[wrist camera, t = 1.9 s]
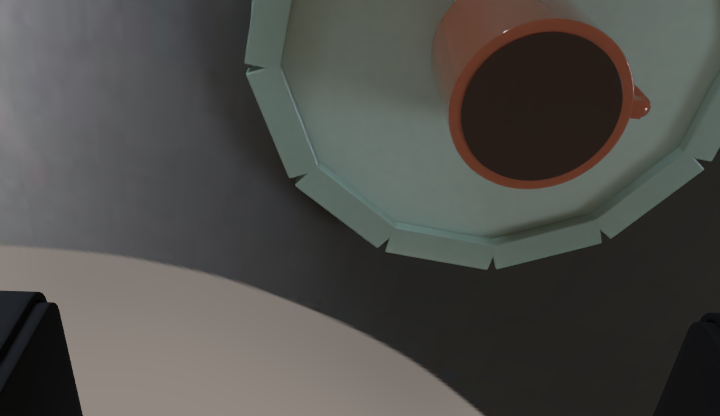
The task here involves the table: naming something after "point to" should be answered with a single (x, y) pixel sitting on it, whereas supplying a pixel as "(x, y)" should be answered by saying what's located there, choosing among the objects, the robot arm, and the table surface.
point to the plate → (433, 139)
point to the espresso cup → (531, 89)
